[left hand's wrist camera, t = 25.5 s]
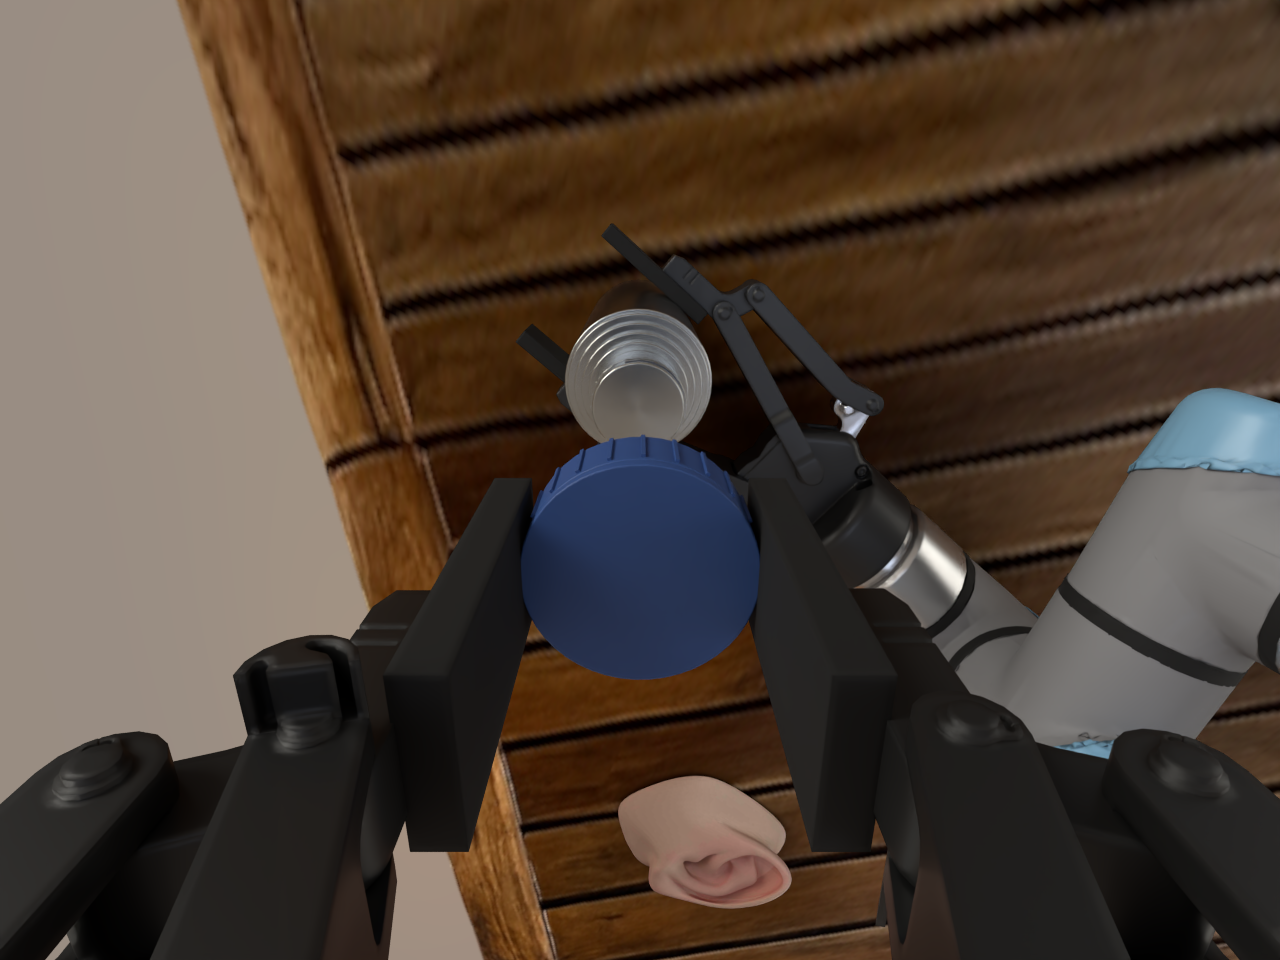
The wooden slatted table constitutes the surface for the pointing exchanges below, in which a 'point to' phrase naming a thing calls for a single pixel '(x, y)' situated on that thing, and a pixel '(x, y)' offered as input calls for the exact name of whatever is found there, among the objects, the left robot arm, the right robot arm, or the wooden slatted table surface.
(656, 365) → the bottle
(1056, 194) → the wooden slatted table surface
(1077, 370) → the wooden slatted table surface
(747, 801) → the anatomical model
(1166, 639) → the right robot arm
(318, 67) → the wooden slatted table surface
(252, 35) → the wooden slatted table surface
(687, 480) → the cap
